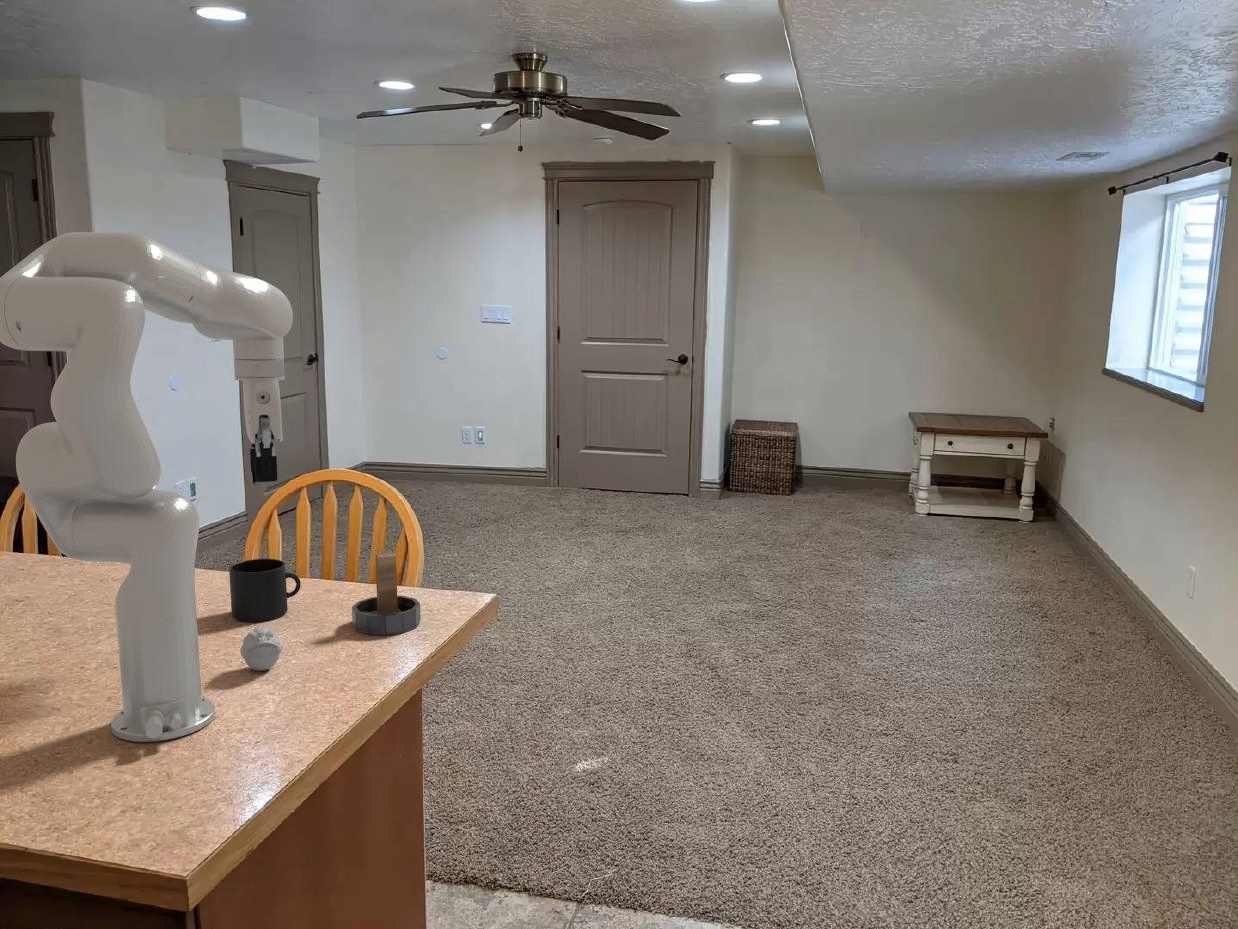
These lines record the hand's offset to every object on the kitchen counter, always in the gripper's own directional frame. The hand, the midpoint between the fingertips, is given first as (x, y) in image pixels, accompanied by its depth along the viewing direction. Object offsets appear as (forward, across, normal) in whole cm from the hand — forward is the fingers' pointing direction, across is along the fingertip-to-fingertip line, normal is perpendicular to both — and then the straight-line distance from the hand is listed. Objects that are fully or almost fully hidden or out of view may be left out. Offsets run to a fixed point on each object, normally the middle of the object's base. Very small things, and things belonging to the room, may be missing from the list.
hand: (263, 476), depth 157 cm
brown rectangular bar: (+27, 0, -19) cm, 33 cm away
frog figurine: (+28, -13, +2) cm, 31 cm away
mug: (+28, +15, -1) cm, 31 cm away
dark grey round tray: (+27, 0, -19) cm, 33 cm away
